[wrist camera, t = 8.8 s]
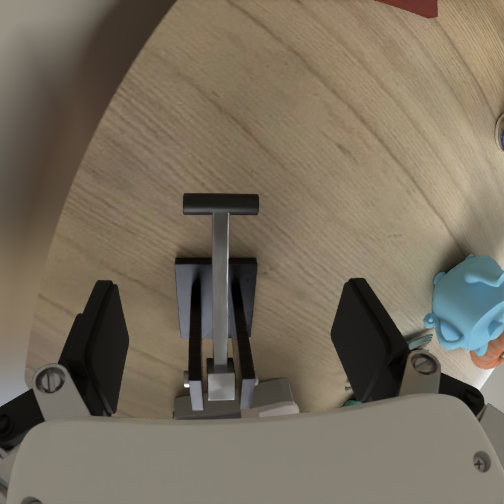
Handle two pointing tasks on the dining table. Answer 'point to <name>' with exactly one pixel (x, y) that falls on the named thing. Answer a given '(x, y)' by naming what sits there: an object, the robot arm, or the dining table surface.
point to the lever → (220, 280)
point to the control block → (416, 6)
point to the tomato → (490, 354)
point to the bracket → (200, 321)
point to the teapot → (468, 305)
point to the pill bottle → (500, 133)
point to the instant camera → (264, 404)
